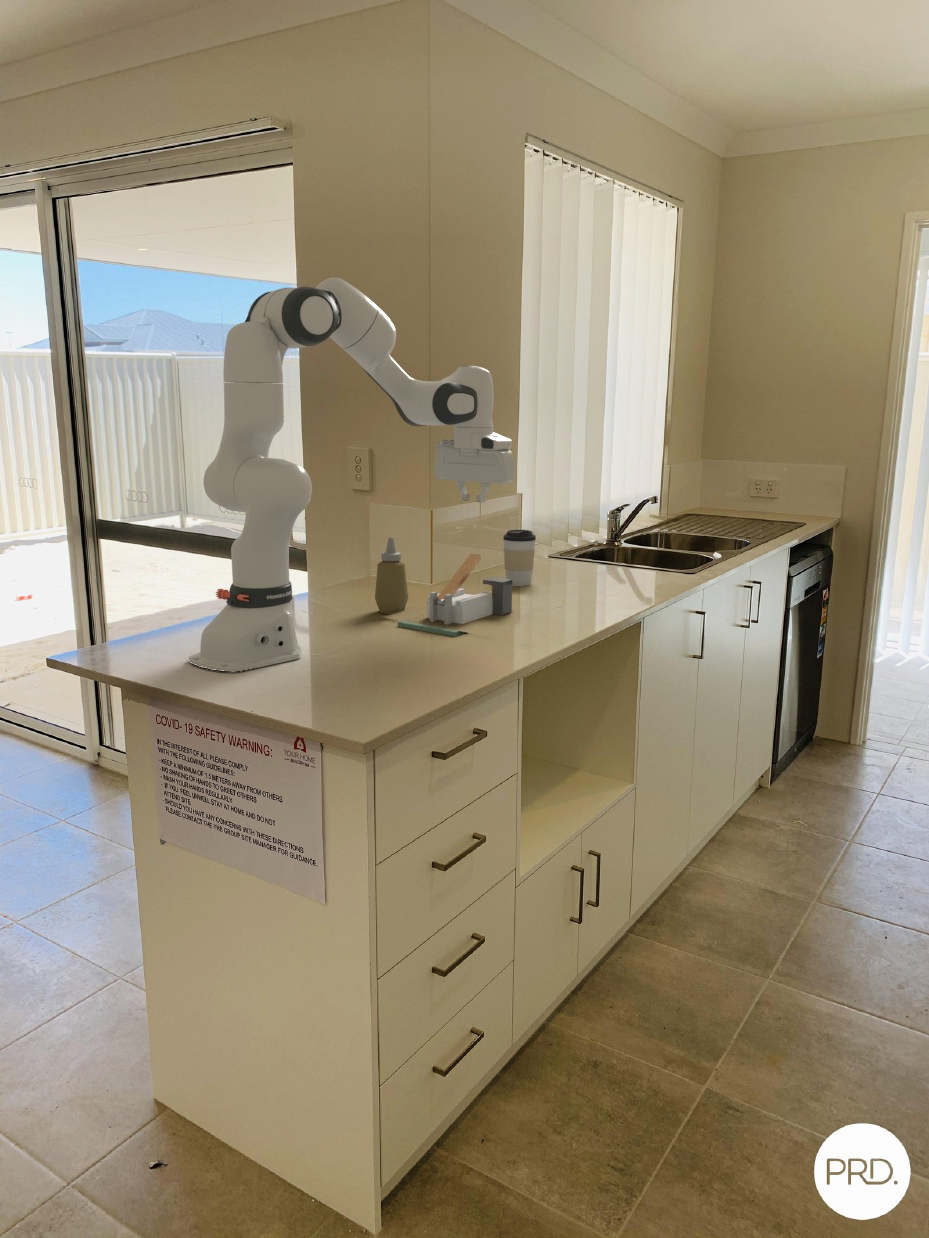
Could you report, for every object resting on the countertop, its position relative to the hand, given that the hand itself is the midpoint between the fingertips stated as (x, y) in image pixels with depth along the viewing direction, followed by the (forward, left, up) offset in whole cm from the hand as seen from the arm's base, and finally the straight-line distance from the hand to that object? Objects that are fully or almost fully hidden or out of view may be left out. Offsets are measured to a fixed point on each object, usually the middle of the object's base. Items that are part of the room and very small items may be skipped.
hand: (473, 501), depth 216 cm
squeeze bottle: (-8, +18, -27) cm, 34 cm away
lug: (+4, -5, -26) cm, 27 cm away
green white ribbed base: (-6, 0, -27) cm, 28 cm away
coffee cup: (+40, +12, -27) cm, 50 cm away
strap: (-6, 0, -18) cm, 19 cm away
